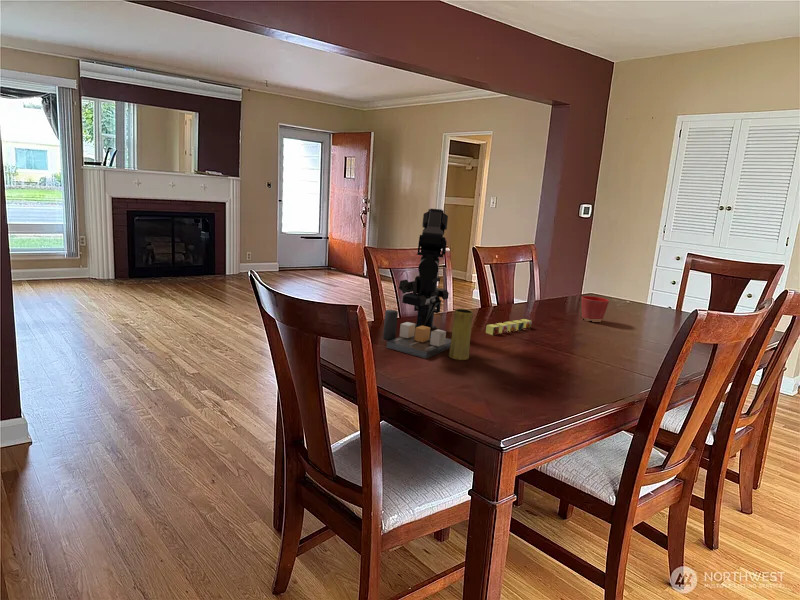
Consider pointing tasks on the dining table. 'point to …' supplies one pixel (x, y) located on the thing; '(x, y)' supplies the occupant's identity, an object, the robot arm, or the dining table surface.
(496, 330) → the yellow picture block train
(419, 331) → the toggle mid
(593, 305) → the flower pot
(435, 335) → the toggle right
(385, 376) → the dining table surface
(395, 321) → the cable post
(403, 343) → the breaker panel
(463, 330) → the vase
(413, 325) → the toggle left
